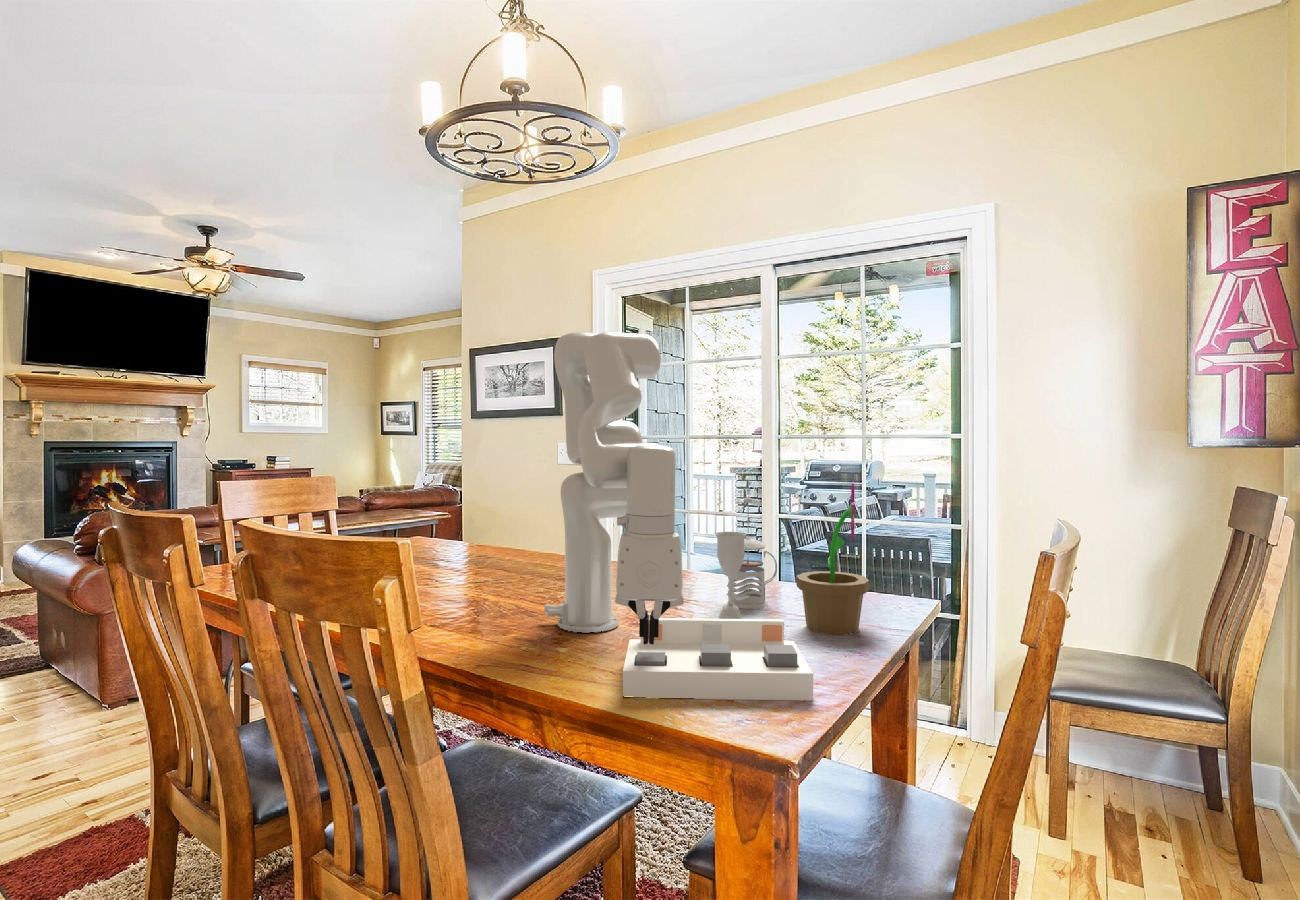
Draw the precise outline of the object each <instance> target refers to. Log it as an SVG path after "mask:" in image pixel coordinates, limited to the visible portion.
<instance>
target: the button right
mask: <svg viewBox="0 0 1300 900" xmlns="http://www.w3.org/2000/svg"><path fill="white" fill-rule="evenodd" d="M764 663H765V665H766V667H789V668H797V652H796V650H795V649H794V647H793V645H764Z"/></svg>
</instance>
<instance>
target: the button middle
mask: <svg viewBox="0 0 1300 900" xmlns="http://www.w3.org/2000/svg"><path fill="white" fill-rule="evenodd" d="M701 666H707V667H731V651H730V648H729V644H701Z"/></svg>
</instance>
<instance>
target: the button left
mask: <svg viewBox="0 0 1300 900" xmlns="http://www.w3.org/2000/svg"><path fill="white" fill-rule="evenodd" d="M636 666H665V652H637V658H636Z"/></svg>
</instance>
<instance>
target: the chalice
mask: <svg viewBox="0 0 1300 900" xmlns="http://www.w3.org/2000/svg"><path fill="white" fill-rule="evenodd" d="M714 535H715V537H716V543H717V545H716V546H717V547H716V551H717V553H716V555H717V559H718V564H719V566H720V568H721V570H722V573H723V575H724V576H726V577H727V578H728V579H727V581H728V583H727V585H726V587H727V589H728V592H727V593H726V596H727V598H728V601H727V602H728V603H727V602H726V604H725V605H723V606H722V608H721V610H720V613H719V615H718V618H719V619H743V615H742V614H741V611H740V608H738V606H736V605H734V603H733V596H734V595H735V594H736V593H735V592H734V593H735V594H734V593H733V587H734V585H733V577H734V576H736V575H737V574H738V572H739V570H740V567H741V565H742V562H743V560H745V559H744V558H745V550H744V539H746V538H747V536H748V533H745V532H739V531H719V532H716V533H714ZM734 588H735V587H734Z"/></svg>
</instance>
